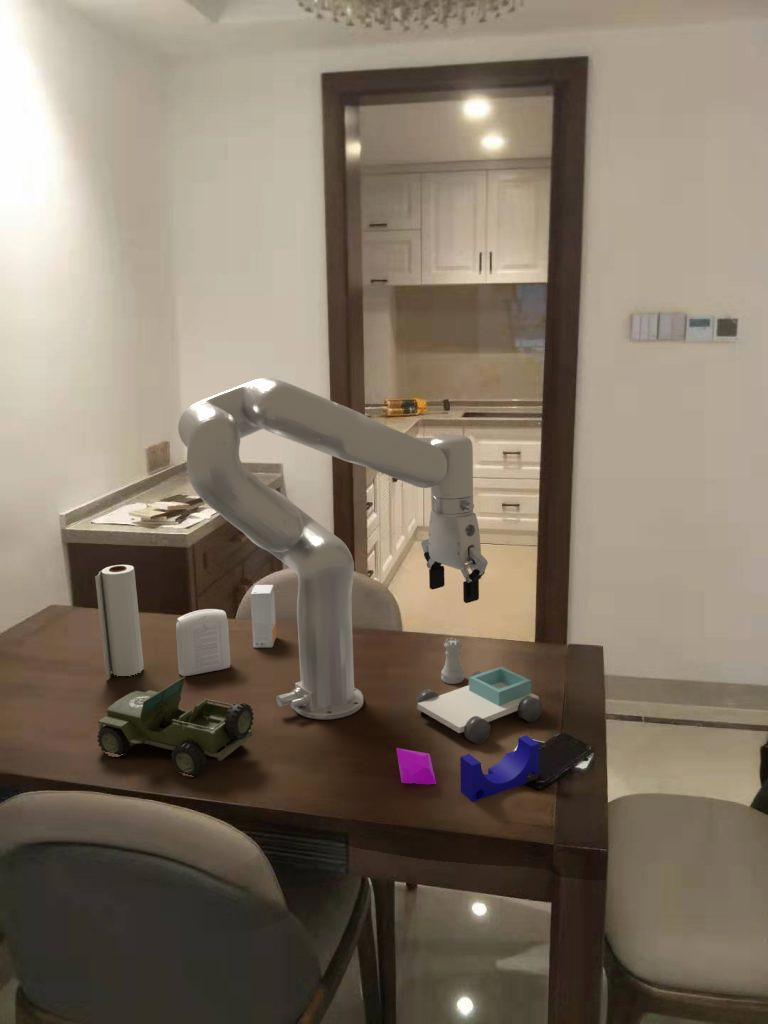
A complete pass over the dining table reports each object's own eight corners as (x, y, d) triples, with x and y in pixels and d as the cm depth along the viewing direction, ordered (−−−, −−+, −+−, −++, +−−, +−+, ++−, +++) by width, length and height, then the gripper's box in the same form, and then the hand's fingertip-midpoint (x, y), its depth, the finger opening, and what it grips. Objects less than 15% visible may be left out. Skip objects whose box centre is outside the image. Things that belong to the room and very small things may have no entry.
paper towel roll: (142, 663, 177) (133, 562, 172) (144, 675, 171) (134, 570, 166) (105, 668, 174) (94, 566, 169) (106, 681, 169) (94, 575, 164)
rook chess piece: (463, 685, 163) (463, 645, 161) (439, 684, 164) (438, 644, 162) (465, 675, 167) (465, 636, 166) (442, 674, 168) (442, 635, 166)
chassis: (466, 748, 140) (466, 717, 139) (411, 715, 152) (410, 686, 151) (546, 716, 151) (546, 686, 149) (488, 687, 162) (488, 659, 161)
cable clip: (520, 766, 135) (520, 731, 134) (538, 779, 132) (539, 743, 130) (455, 788, 130) (454, 752, 128) (472, 803, 126) (472, 765, 125)
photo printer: (227, 660, 177) (223, 603, 174) (233, 668, 173) (229, 609, 170) (176, 671, 173) (171, 612, 170) (182, 679, 169) (176, 618, 166)
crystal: (403, 791, 129) (403, 763, 128) (394, 773, 134) (394, 745, 133) (437, 786, 130) (437, 758, 129) (427, 768, 135) (427, 741, 134)
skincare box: (273, 647, 183) (270, 593, 180) (252, 648, 183) (249, 593, 180) (277, 636, 189) (274, 584, 186) (257, 637, 189) (254, 584, 186)
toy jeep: (142, 721, 153) (137, 663, 150) (263, 750, 142) (259, 687, 139) (92, 754, 142) (85, 691, 140) (218, 787, 132) (213, 721, 129)
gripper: (500, 509, 153) (501, 601, 157) (438, 493, 167) (439, 578, 171) (468, 516, 149) (469, 611, 153) (406, 499, 162) (409, 587, 167)
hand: (453, 594), depth 162 cm, fingers open, 9 cm apart
